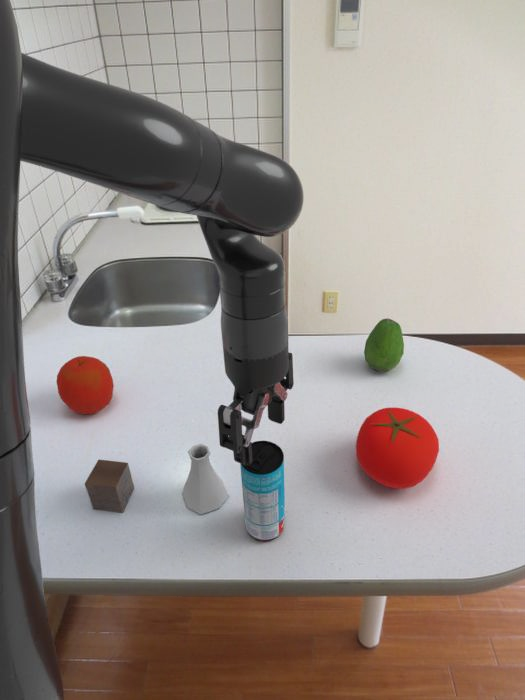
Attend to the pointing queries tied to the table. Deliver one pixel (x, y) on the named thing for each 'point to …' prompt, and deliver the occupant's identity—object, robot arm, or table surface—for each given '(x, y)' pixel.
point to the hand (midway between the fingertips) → (260, 440)
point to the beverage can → (264, 491)
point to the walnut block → (110, 486)
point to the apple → (85, 384)
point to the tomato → (397, 447)
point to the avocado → (384, 345)
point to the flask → (203, 483)
